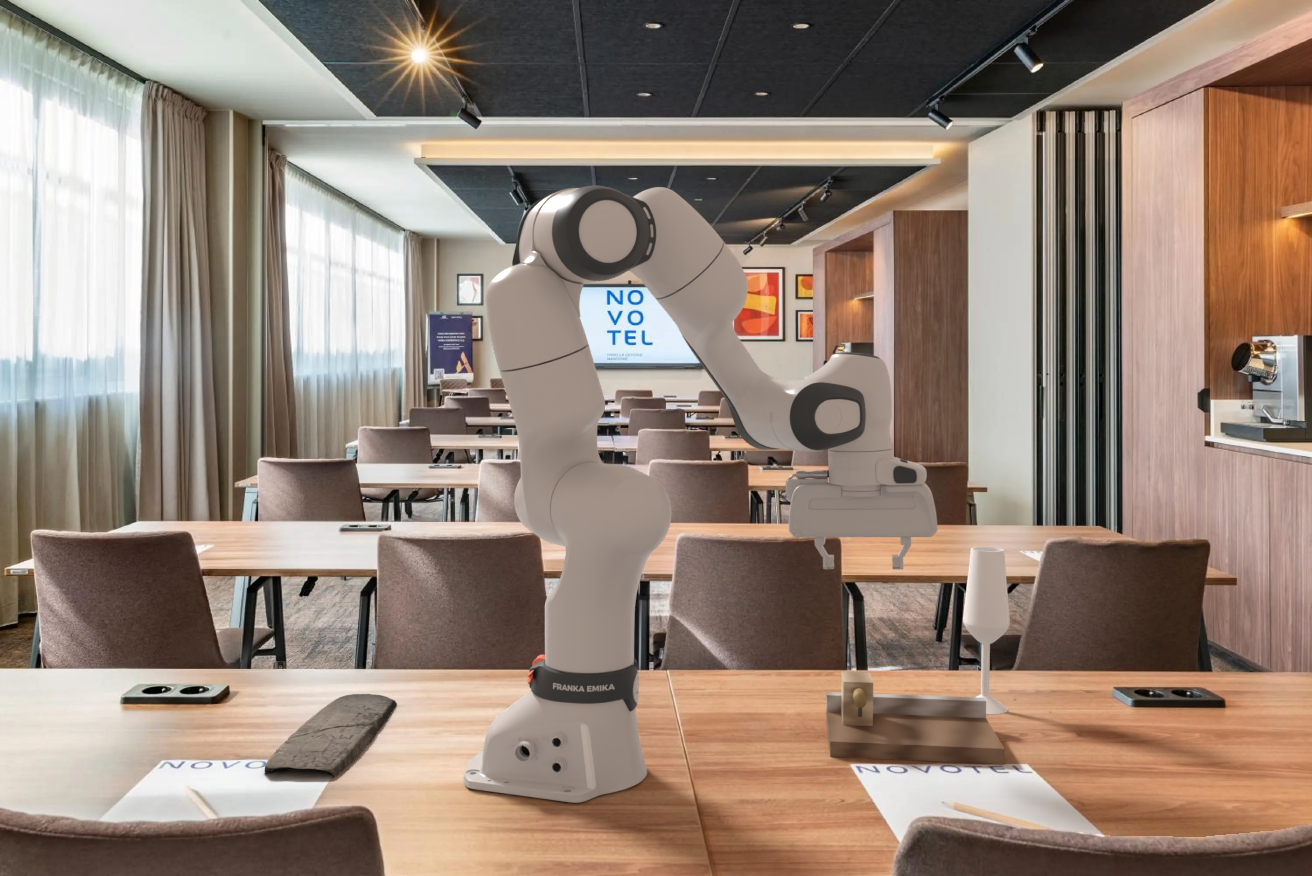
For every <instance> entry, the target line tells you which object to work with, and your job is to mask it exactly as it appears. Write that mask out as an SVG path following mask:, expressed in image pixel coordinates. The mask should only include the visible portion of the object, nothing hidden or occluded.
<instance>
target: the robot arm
mask: <svg viewBox="0 0 1312 876" xmlns="http://www.w3.org/2000/svg"><path fill="white" fill-rule="evenodd" d="M511 261H512V262H511V264H512V265H511V266H509V267H507V268H504V269H503V270H502V271H501V272H499V273H498V274H496V276H495V277H493V278H492V279H491V281H490V282H489V283H488V285H487V287H486V290H485V295H484V296H485V300H484V301H485V308H486V310H485V311H486V316H487V317H486V318H487V324H488V330H489V336H490V340H491V346H492V349H493V355H494V356H495V361H496V364H497V367H498V371H499V374H500V376H501V381H502V384H503V387H504V389H505V393H506V397H507V400H508V403H509V406H510V410H511V413H512V418H513V420H514V424H515V427H516V432H517V439H518V447H519V461H520V462H519V463H520V464H519V465H520V478H519V480H518V482H517V485H516V487H515V490H514V496H513V497H514V498H513V505H514V510H515V513H516V516H517V518H518V519H519V521H520V523H521V524H522V525H523V526H524V527H525V528H527V529H528V530H529V531H530V532H532V533H533V534H534V535H536V537H538V538H540V540H543V541H545V542H547V543H550V544H553V545H557V546H558V545H559V546H562V547H565V556H564V562H563V567H562V570H561V574H560V577H559V580H558V583H557V585H556V586H555V588H553V589H552V591H550V593H549V594H548V595H547V597H546V599H545V604H544V654H539V655H538V656H536V658H534V660H533V661H532V666H531V667H530V668H529V671H528V674H527V684H528V685H529V689H530V690H528V692H525V694H523V695H522V696H520V697H519V698H518V699H517V700H516V701H514V702H513V703H511V705H510V706H508V707H507V708H506V709H504V710H502V711H501V712H500V713H499V714H498V715H497V716H496V717H495V718H494V719H493V721H492V722H491V724H490V726H489V727H488V730H487V732H486V735H485V739H484V743H483V749H482V750H480V751H479V752H478V753H476V754H475V755H474V756H473V757H472V758H471V759H470V761H469V762H468V763H467V765H466V767H465V769H464V774H463V775H464V776H463V782H464V785H465V786H466V787H467V788H468V789H472V790H478V791H485V792H493V793H500V794H506V795H515V796H521V797H522V796H523V797H528V798H529V797H530V798H536V799H544V800H550V801H559V802H567V803H573V804H577V803H579V804H580V803H583V802H587V801H588V800H591V799H593V798H596V797H599V796H602V795H606V794H612V793H615V792H620V791H623V790H626V789H629V788H632V787H633V786H635V785H638V784H639V783H641V782H642V781H643V780H644V779H645V778H646V776H647V775H648V769H647V768H648V767H647V765H646V762H645V759H644V755H643V750H642V746H641V740H640V734H639V727H638V719H637V709H636V708H637V706H638V702H639V690H640V689H639V688H640V687H639V685H640V683H639V682H640V681H639V671H638V661H637V659H636V658H635V611H636V608H635V607H636V600H637V593H638V589H639V585H640V581H641V577H642V574H643V571H644V568H645V566H646V563H647V561H648V558H650V556H651V554H652V553H653V552H654V551H655V550H656V549H657V548H658V547H659V546H660V544H662V542H663V541H664V540H665V538H666V536H667V534H668V532H669V530H670V527H671V523H672V512H673V511H672V504H671V499H670V497H669V494H668V491H666V489H665V487H664V486H663V484H661V482H659V481H658V480H657V479H656V478H653V477H652V476H649V475H648V474H647V473H645V472H643V471H640V470H638V469H637V468H634V467H631V466H627V465H621V464H612V463H603V461H602V459H601V457H600V454H599V449H598V447H599V446H598V424H599V421H600V420H601V419H602V417H603V415H604V412H605V408H606V400H605V396H604V393H603V392H604V391H603V389H602V386H601V382H600V380H599V379H600V378H599V376H598V371H597V368H596V365H595V361H594V358H593V355H592V351H591V348H590V344H589V342H588V341H589V340H588V338H587V335H586V332H585V329H584V326H583V323H582V320H581V310H580V300H581V293H582V290H583V289H584V284H589V283H595V282H602V281H603V282H604V281H610V280H613V279H614V278H616V277H619V276H622V275H623V274H625V273H627V272H628V271H629V272H630V273H632V274H633V275H634V276H636V278H638V279H640V281H641V283H642V284H643V285H644V287H645V288H647V290H648V291H649V292H650V294H651V295H652V296H653V297H654V299H655V300H656V301H657V302H658V304H659V305H660V306H661V307H662V308H663V310H664V311H665V312H666V313H667V315H668V316H669V317H670V319H671V320H672V321H673V322H674V324H675V325H676V326H677V329H678V330H679V332H680V334H681V335H682V338H683V339H684V341H685V343H686V345H687V346H688V348H689V349H690V350H691V352H692V354H693V355H694V356H695V358H696V359H697V360H698V362H699V363H700V365H701V367H702V368H703V369H704V371H705V372H706V373H707V375H708V376H709V378H710V379H711V380H712V382H713V383H714V385H715V386H716V387H717V388H718V390H719V392H720V393H721V394H722V396H723V398H724V399H725V401H726V403H727V405H728V408H729V410H730V414H731V417H732V420H733V423H734V426H735V428H736V430H737V432H738V434H739V435H740V437H741V438H742V439H743V440H744V442H745V443H747V445H749V446H751V447H753V448H755V449H758V450H764V451H767V450H769V451H770V450H772V451H773V450H788V451H796V452H808V453H809V452H813V453H816V452H817V453H818V452H821V451H825V450H827V461H828V463H827V466H828V468H827V470H826V469H825V470H811V471H808V470H807V471H806V470H797V471H796V472H795V473H794V474H791V475H789V477H787V479H786V481H785V496H786V499H787V500H788V501H789V502H790V505H789V512H788V531H789V533H790V535H792V536H793V537H794V538H814V540H813V541H814V547H815V548H816V550H817V551H818V553H819V555H820V556H821V558H822V567H823V570H834V569H835V555H834V554H829V553H828V552H827V550H826V548H825V547H824V545H825V544H826V538H900V540H899V541H900V545H901V549H900V550H899V552H898V553H897V554H892V555H891V559H892V561H891V562H892V563H891V564H892V565H891V566H892V570H904V558H905V557H906V555H907V554H908V552H909V550H910V547H911V546H912V538H933V536H935V534H936V533H937V532H938V518H937V517H938V516H937V509H936V504H935V501H934V497H933V493H932V490H931V489H930V487H929V486H928V485H927V483H926V481H927V469H926V468H925V466H924V465H923V464H921V463H918V462H914V461H910V460H907V459H905V458H899V457H895V456H894V447H893V441H892V439H891V432H890V428H891V423H892V420H893V400H892V399H893V398H892V385H891V380H890V375H889V370H888V367H887V365H886V363H885V361H884V360H883V359H882V358H880V357H879V356H877V355H873V354H870V353H863V352H849V351H840V352H836V353H833V354H831V356H830V357H829V360H828V361H827V362H826V363H825V364H824V365H823V366H821V367H820V368H819V369H817V370H815V371H814V372H812V373H811V374H808V375H807V376H804V377H802V379H780V378H777V377H774V376H772V375H769V374H768V373H765V372H764V371H763V370H762V369H761V368H760V367H759V366H758V364H757V362H756V361H755V360H754V359H753V357H752V356H751V354H750V352H749V350H748V349H747V348H746V347H745V345H744V344H743V342H742V340H741V339H740V338H739V336H738V334H737V333H736V331H735V328H734V321H735V320H736V319H737V317H738V316H739V315H740V314H741V312H742V310H743V308H744V306H745V304H746V302H747V297H748V293H749V292H748V291H749V290H748V289H749V283H748V282H749V280H748V278H747V275H746V272H745V271H744V269H743V267H742V265H741V263H740V261H739V260H738V258H737V257H736V256H735V254H734V252H733V251H732V250H731V249H730V248H729V246H728V245H727V244H726V242H725V241H724V240H723V238H721V235H719V234H718V233H717V231H716V230H715V229H714V228H713V227H712V226H711V224H710V223H709V222H708V221H707V220H706V219H705V218H704V217H703V216H702V215H701V214H700V213H699V212H698V211H697V210H696V209H695V208H694V207H693V206H692V205H691V204H689V202H688V201H686V200H685V199H684V198H683V197H681V196H680V195H679V194H678V193H677V192H675V190H673V189H670V188H667V187H661V186H657V187H655V186H654V187H651V188H648V189H645V190H643V191H641V192H638V193H636V194H635V195H634V196H631V195H629V194H626V193H623V192H621V191H619V190H618V189H615V188H612V187H608V186H603V185H587V186H586V185H585V186H582V187H571V188H568V187H567V188H565V189H561V190H558V191H556V192H554V193H551V194H549V195H546V196H544V197H542V198H540V199H538V200H535V202H534V203H532V204H531V206H530V207H529V208H527V210H526V211H525V213H524V214H523V215H522V218H521V220H520V221H519V224H518V229H517V235H516V244H515V249H514V252H513V256H512V260H511Z"/></svg>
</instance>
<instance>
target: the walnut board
mask: <svg viewBox="0 0 1312 876" xmlns="http://www.w3.org/2000/svg"><path fill="white" fill-rule="evenodd" d="M825 695H826V699H825V703H826V704H825V708H826V709H825V710H826V711H825V724H826V725H825V726H826V731H827V741H828V750H829V757H833V758H834V757H835V758H855V759H857V758H858V759H877V760H878V759H881V760H883V759H884V760H902V761H922V762H923V761H925V762H945V763H947V762H948V763H949V762H950V763H965V764H967V763H970V764H992V765H1005V748H1004V746H1003V744H1002V742H1001V741H1000V739H999V737H998V736H997V734H996V732H995V731H994V729H993V727H992V726H991V724H990V722H989V720H988V718H987V714H986V700H985V698H978V697H977V696H975V697H973V696H972V697H971V696H948V695H946V696H945V695H924V694H923V695H921V694H918V695H917V694H894V693H893V694H891V693H873V726H858V725H843V722H842V716H841V692H840V691H839V692H837V691H836V692H835V691H826V694H825Z"/></svg>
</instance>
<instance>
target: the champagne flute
mask: <svg viewBox="0 0 1312 876" xmlns="http://www.w3.org/2000/svg"><path fill="white" fill-rule="evenodd" d="M969 554H970V555H969V563H968V573H967V581H966V582H967V583H966V590H965V599H964V608H963V614H962V616H963V617H962V623H963V624H964V627H965V629H966V630H967V631H968V633H969V634H970V635H971V636H972V637H973V638H974V639H975V640H976V641H977V642H979V643H980V644H981V671H980V672H981V675H980V676H981V677H980V694H979V695H977V696H976V697H978V698H985V700H986V715H1001V714H1005V713H1007V712H1008V711H1009V708H1008V706H1006V705H1005V704H1003V703H1001V702H1000V701H999V700H997V699H995V698H994V697H993V696H992V695H990V663H991V661H990V659H991V657H990V656H991V655H990V653H991V644H993V643H995V642H996V641H997V640H998V639H1000V638H1001V637H1002V636H1003V635H1004V634H1005V633H1006V632H1007V631H1008V629H1009V627H1010V623H1011V621H1010V607H1009V606H1010V605H1009V596H1008V584H1007V583H1008V582H1007V581H1008V580H1007V571H1006V570H1007V569H1006V559H1005V558H1006V557H1005V549H1004V548H1000V547H994V546H972V547H971V548H970V553H969Z"/></svg>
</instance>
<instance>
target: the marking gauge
mask: <svg viewBox="0 0 1312 876" xmlns="http://www.w3.org/2000/svg"><path fill="white" fill-rule="evenodd" d="M873 680H874V679H873V677H872V674H871V672H863V671H862V672H860V671H859V672H857V671H841V679H840V681H841V687H840V688H841V689H840V690H841V716H842V722H843V725H858V726H873V694H874V681H873Z"/></svg>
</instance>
